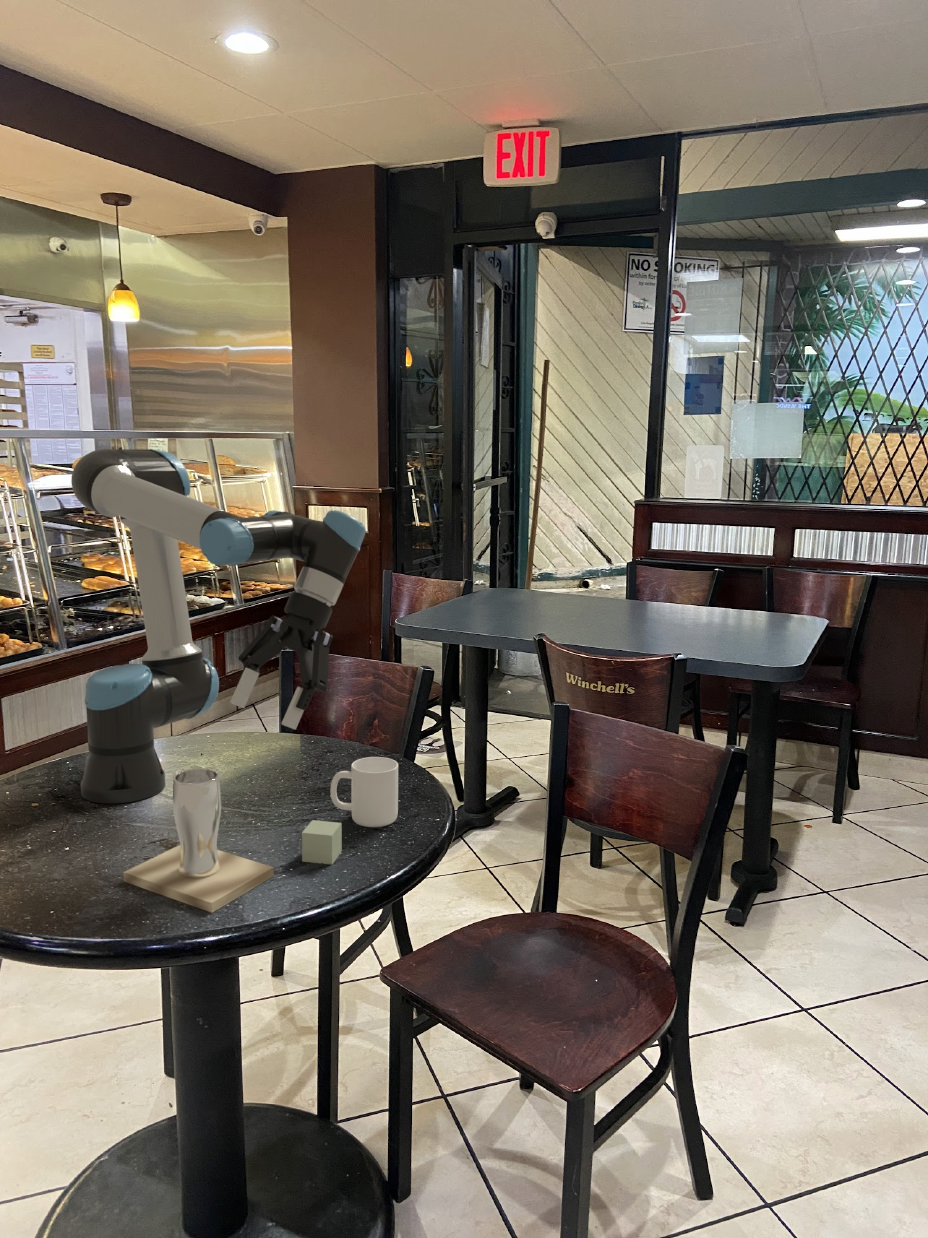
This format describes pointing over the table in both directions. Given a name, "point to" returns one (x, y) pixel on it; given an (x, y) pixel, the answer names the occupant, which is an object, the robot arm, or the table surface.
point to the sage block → (321, 842)
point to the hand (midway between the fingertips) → (261, 716)
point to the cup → (370, 791)
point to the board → (199, 879)
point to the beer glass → (197, 820)
